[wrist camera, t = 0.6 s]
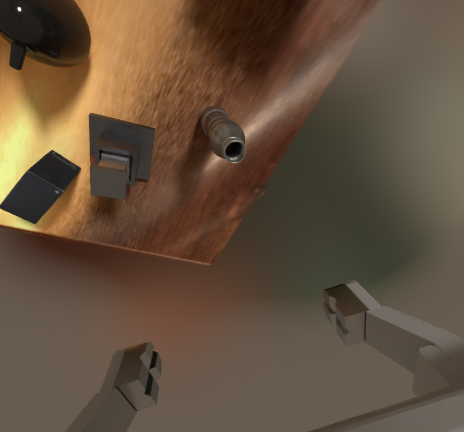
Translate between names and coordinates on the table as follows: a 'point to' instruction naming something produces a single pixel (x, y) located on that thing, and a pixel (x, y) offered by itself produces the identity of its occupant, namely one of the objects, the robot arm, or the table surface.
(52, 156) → the small box
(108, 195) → the column
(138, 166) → the stand
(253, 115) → the table surface
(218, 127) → the plastic bottle
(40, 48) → the pump dispenser
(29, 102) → the table surface
